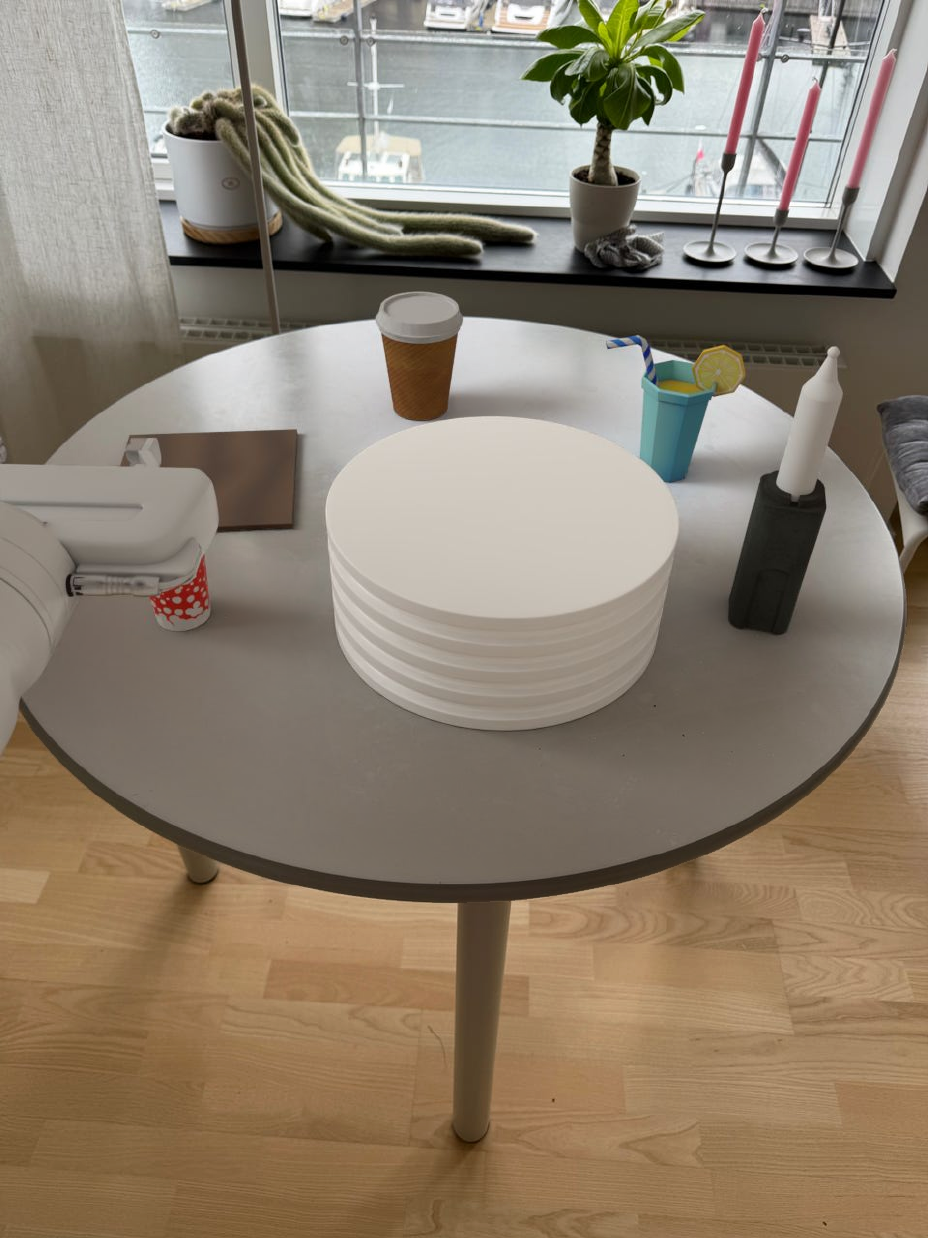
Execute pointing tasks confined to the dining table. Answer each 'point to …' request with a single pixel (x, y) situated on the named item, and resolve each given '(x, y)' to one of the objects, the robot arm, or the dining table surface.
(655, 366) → the cup
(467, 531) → the plate stack
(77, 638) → the dining table surface
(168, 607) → the beverage cup
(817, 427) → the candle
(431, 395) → the disposable coffee cup
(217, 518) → the robot arm
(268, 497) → the placemat
